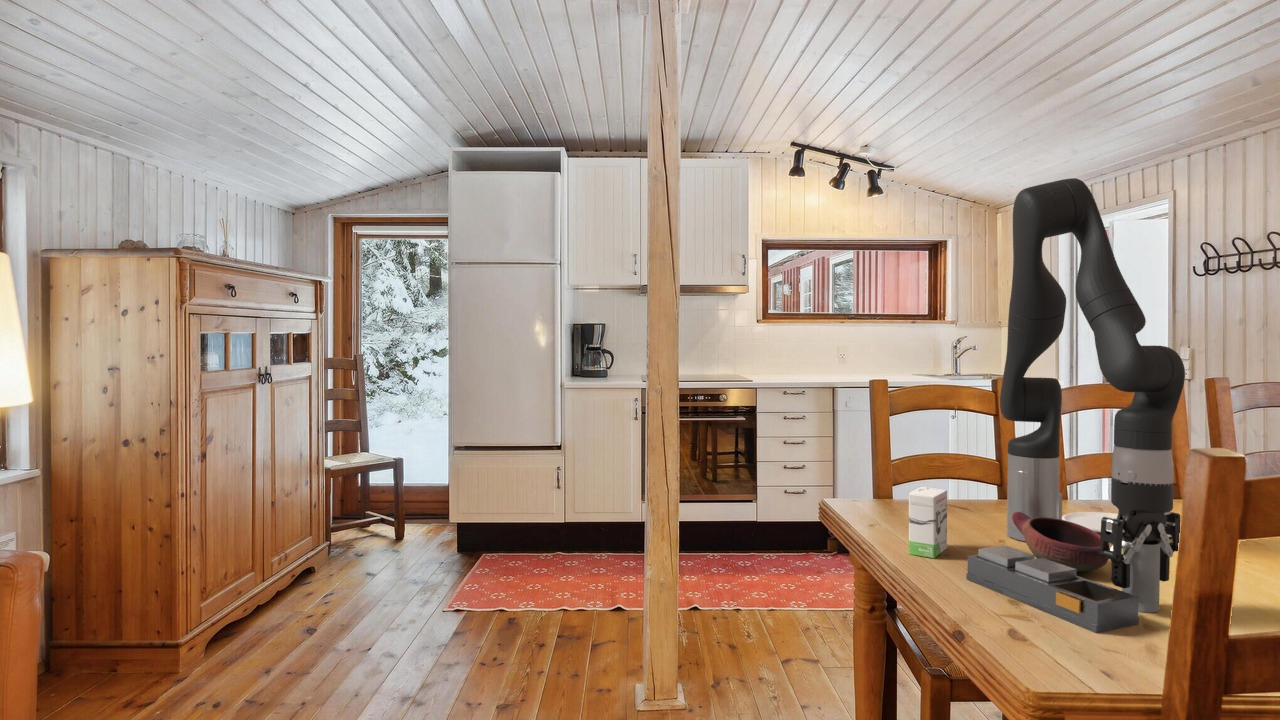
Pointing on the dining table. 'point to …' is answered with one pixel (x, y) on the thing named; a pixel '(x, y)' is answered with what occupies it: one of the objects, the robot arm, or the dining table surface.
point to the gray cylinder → (1145, 577)
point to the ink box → (927, 521)
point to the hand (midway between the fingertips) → (1140, 583)
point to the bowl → (1061, 541)
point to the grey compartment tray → (1052, 589)
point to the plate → (1090, 519)
